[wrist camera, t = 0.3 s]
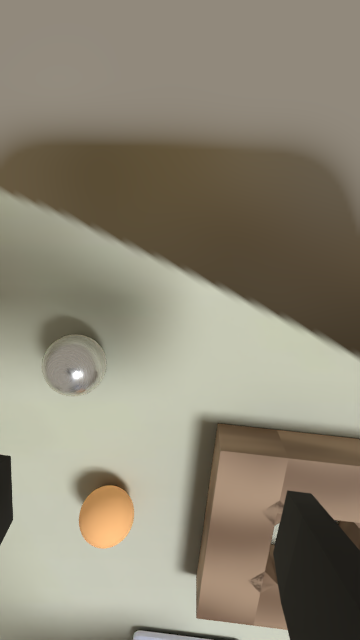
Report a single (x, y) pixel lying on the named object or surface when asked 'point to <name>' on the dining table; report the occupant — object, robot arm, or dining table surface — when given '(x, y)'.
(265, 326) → the dining table surface
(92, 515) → the ball
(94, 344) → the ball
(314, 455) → the hole plate
